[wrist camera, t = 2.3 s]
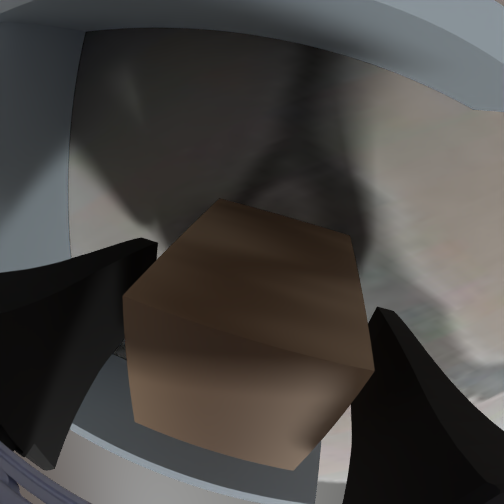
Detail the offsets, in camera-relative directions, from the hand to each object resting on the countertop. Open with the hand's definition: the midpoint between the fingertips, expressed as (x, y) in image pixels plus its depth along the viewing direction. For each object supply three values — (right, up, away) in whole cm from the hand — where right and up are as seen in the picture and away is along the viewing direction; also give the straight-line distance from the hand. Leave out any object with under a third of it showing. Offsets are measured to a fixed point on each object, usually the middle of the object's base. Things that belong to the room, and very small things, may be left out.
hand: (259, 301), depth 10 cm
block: (0, +1, +2) cm, 2 cm away
